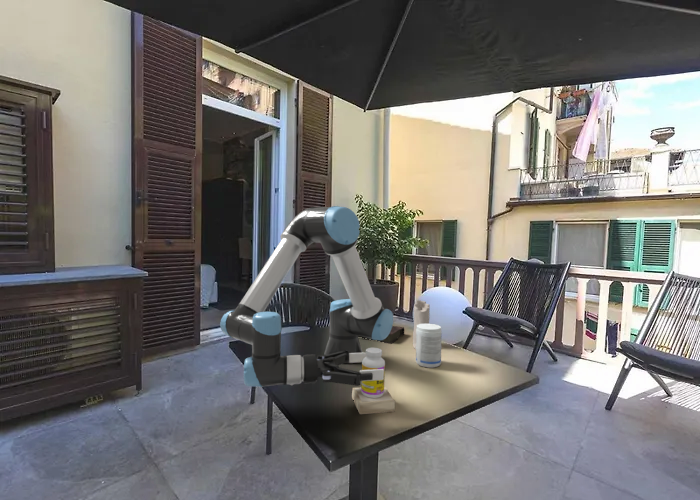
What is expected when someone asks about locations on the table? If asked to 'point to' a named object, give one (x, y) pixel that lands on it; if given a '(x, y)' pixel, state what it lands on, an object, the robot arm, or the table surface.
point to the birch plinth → (373, 402)
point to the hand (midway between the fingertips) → (376, 365)
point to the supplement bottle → (369, 363)
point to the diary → (391, 335)
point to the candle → (420, 316)
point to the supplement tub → (428, 345)
